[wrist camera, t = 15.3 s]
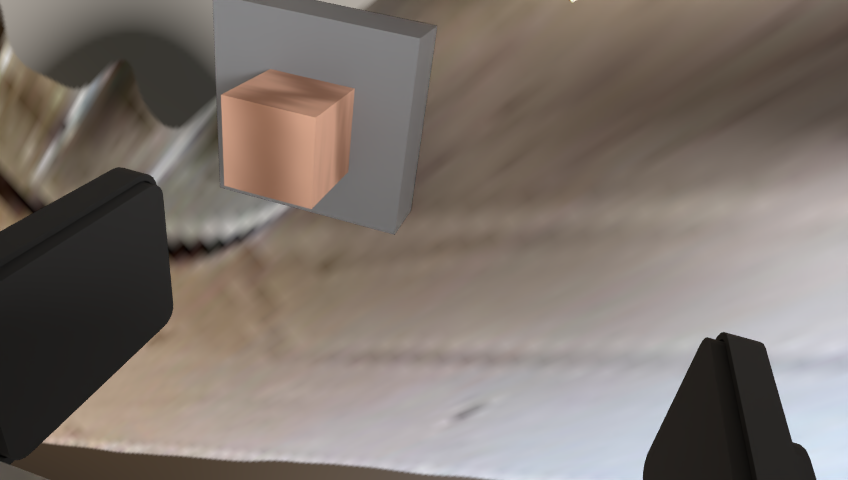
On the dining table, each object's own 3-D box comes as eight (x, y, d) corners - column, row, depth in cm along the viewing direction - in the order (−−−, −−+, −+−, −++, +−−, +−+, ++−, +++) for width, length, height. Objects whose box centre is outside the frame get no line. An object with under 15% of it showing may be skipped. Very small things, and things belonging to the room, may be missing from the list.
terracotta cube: (354, 88, 41) (315, 117, 36) (348, 171, 44) (311, 209, 39) (270, 68, 42) (220, 94, 37) (269, 151, 45) (224, 185, 40)
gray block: (437, 25, 41) (420, 38, 38) (410, 210, 49) (394, 234, 45) (244, -15, 44) (212, -6, 40) (247, 167, 51) (220, 187, 48)
